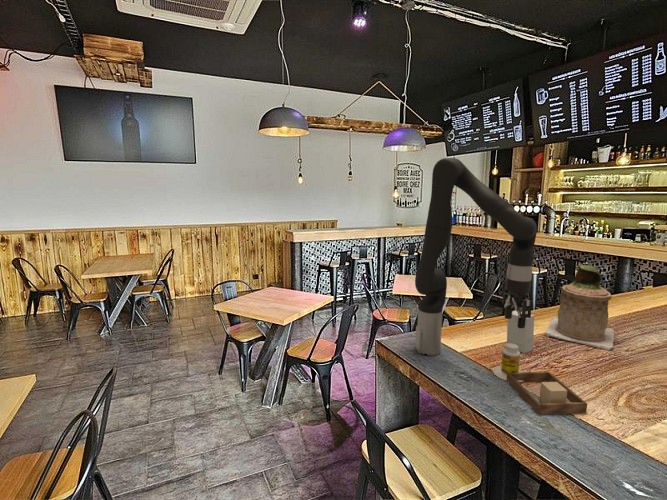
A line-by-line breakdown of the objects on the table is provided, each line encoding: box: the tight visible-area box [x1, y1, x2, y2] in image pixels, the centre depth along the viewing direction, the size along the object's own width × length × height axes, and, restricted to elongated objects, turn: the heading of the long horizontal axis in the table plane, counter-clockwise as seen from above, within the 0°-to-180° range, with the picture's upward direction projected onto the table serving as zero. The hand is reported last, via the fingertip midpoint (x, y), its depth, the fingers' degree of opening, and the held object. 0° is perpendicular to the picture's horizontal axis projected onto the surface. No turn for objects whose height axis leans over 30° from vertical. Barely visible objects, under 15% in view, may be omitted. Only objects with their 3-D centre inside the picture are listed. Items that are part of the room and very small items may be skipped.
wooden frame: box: [506, 371, 588, 415], centre depth 119 cm, size 15×19×3 cm
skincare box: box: [506, 309, 535, 354], centre depth 152 cm, size 8×6×15 cm
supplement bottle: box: [500, 342, 521, 375], centre depth 132 cm, size 6×6×10 cm
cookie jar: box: [544, 263, 615, 351], centre depth 163 cm, size 25×25×32 cm
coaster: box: [492, 364, 525, 384], centre depth 133 cm, size 11×11×1 cm
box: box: [538, 381, 567, 403], centre depth 115 cm, size 5×5×6 cm
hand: (514, 323), depth 129 cm, fingers open, 8 cm apart
